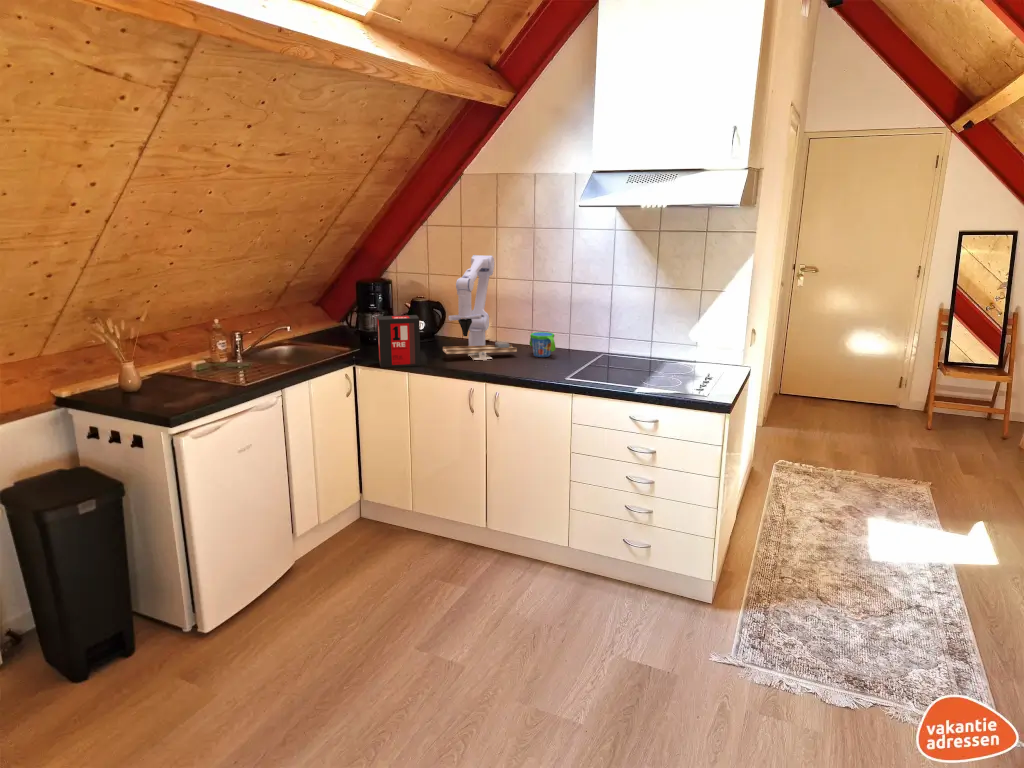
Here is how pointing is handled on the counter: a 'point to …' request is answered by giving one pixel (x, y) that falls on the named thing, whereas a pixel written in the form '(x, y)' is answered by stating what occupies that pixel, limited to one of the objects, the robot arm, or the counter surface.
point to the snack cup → (542, 343)
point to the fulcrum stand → (479, 356)
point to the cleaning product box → (399, 340)
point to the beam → (477, 349)
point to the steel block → (501, 345)
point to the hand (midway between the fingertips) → (465, 335)
